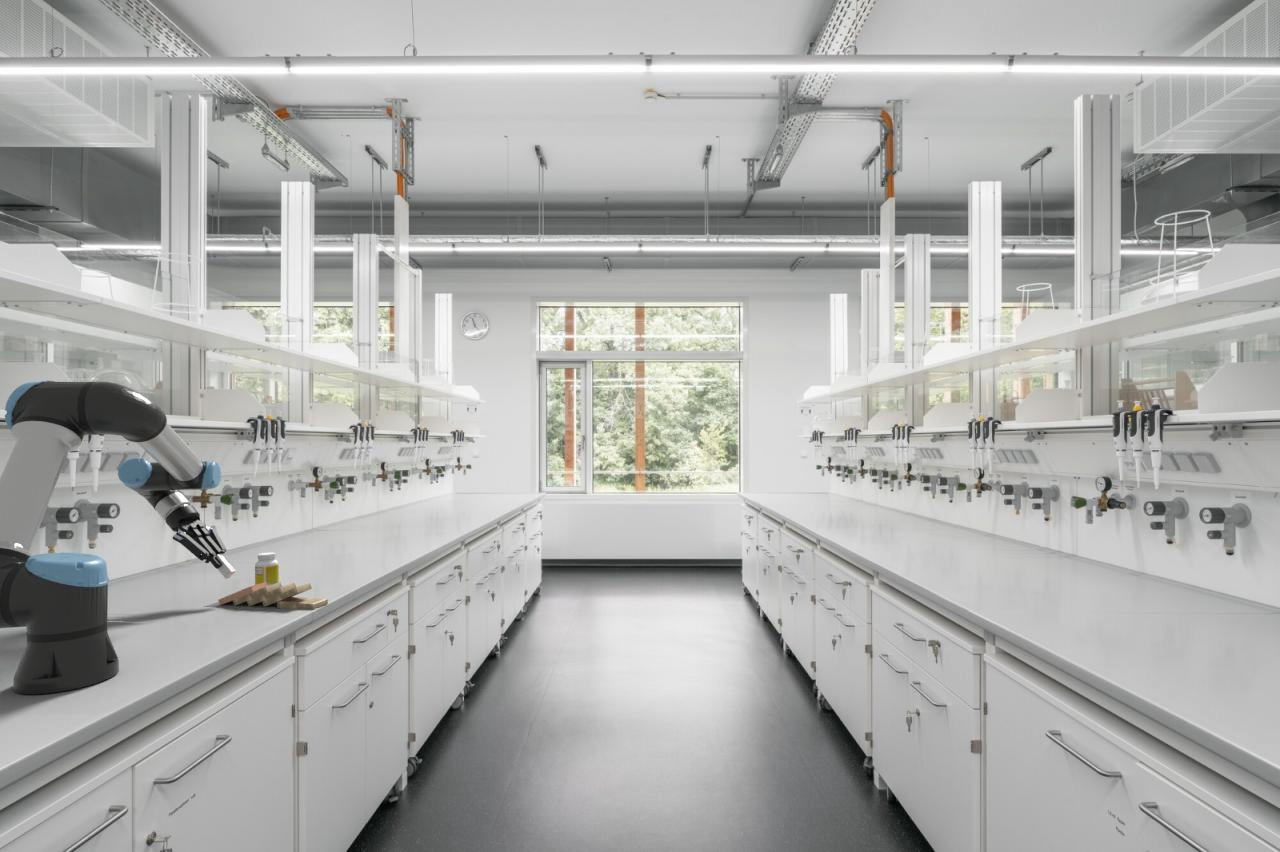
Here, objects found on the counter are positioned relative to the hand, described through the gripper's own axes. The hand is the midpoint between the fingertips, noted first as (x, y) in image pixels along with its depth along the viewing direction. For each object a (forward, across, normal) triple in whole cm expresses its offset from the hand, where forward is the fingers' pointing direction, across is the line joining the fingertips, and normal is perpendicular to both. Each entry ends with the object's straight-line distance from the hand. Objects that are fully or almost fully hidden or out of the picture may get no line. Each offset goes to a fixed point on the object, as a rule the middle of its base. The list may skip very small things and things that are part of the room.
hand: (230, 574), depth 187 cm
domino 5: (+17, 0, +7) cm, 18 cm away
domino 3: (+10, 0, 0) cm, 10 cm away
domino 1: (+4, 0, -6) cm, 7 cm away
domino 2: (+7, 0, -2) cm, 8 cm away
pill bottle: (+4, -16, -7) cm, 18 cm away
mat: (+10, 0, -1) cm, 10 cm away
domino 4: (+14, 0, +4) cm, 14 cm away
